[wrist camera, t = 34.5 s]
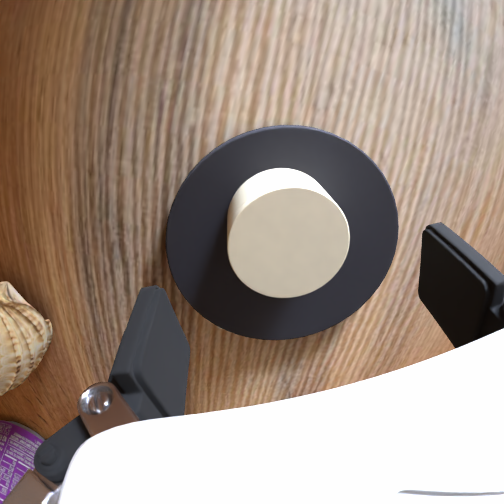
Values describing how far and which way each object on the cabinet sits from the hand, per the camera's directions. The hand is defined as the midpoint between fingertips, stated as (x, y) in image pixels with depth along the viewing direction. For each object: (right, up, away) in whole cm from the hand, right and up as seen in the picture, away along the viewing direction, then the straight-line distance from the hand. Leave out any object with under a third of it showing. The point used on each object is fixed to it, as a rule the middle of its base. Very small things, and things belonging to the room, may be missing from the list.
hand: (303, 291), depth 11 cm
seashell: (-17, -3, +4) cm, 18 cm away
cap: (0, +2, 0) cm, 2 cm away
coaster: (0, +2, +3) cm, 3 cm away
